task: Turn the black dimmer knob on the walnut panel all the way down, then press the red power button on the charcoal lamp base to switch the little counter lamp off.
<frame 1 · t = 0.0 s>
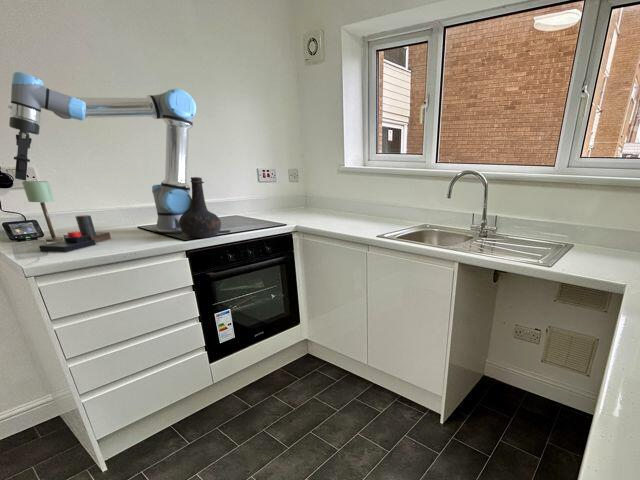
hand: (20, 178, 131), 27 cm above the countertop, tool tilted 15°, fingers open, 13 cm apart
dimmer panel: (88, 240, 156), on the countertop
power button: (74, 234, 145), point 5 cm above the countertop, slide at 0.1 cm
lamp: (54, 240, 137), resting on lamp base
glass bottle: (202, 237, 172), on the countertop, touching arm
lamp base: (69, 247, 143), on the countertop
dimmer knob: (85, 225, 152), point 7 cm above the countertop, hinge at 120.0°
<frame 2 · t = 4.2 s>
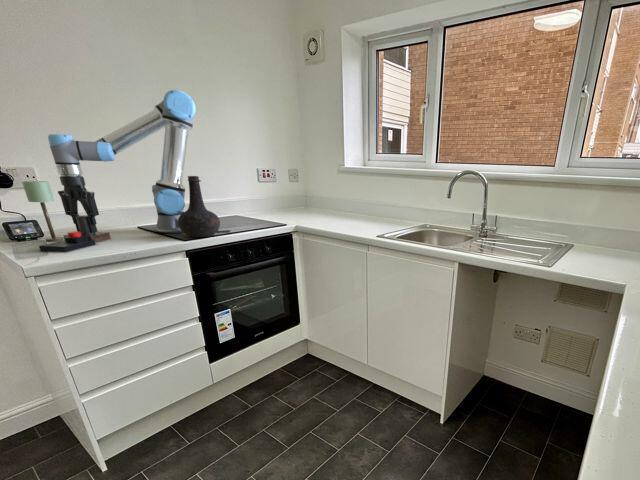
hand: (87, 231, 153), 4 cm above the countertop, tool pointing down, fingers closed on dimmer knob, 5 cm apart
dimmer knob: (85, 225, 152), point 7 cm above the countertop, hinge at 120.0°, touching gripper
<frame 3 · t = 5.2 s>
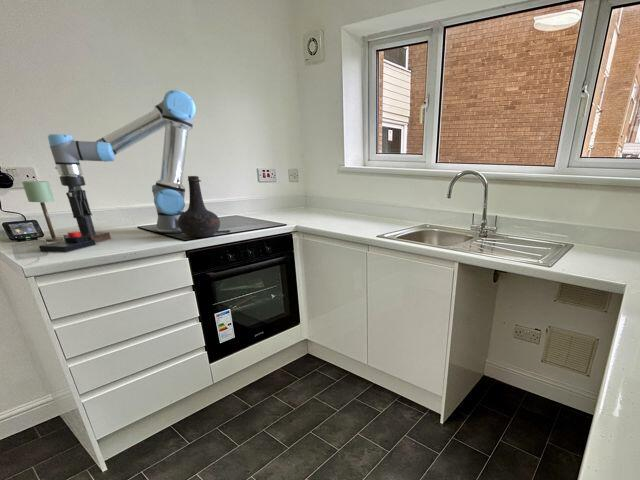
hand: (87, 231, 153), 4 cm above the countertop, tool pointing down, fingers closed on dimmer knob, 5 cm apart
dimmer knob: (85, 225, 152), point 7 cm above the countertop, hinge at 55.9°, touching gripper
everything else where it was.
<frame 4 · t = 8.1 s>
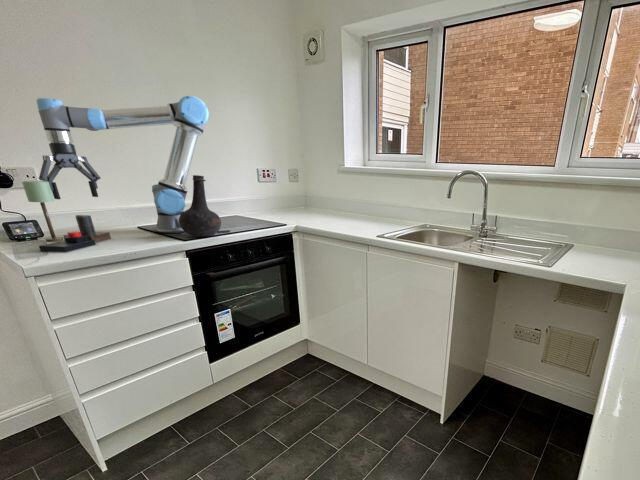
hand: (77, 198, 147), 19 cm above the countertop, tool pointing down, fingers open, 13 cm apart
dimmer knob: (85, 225, 152), point 7 cm above the countertop, hinge at 10.4°
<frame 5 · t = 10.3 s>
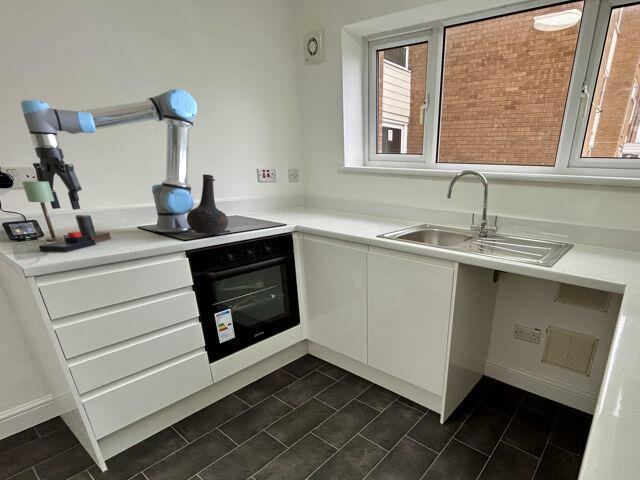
hand: (66, 208, 141), 15 cm above the countertop, tool pointing down, fingers open, 7 cm apart
glass bottle: (208, 234, 173), point 1 cm above the countertop, touching arm
everything else where it was.
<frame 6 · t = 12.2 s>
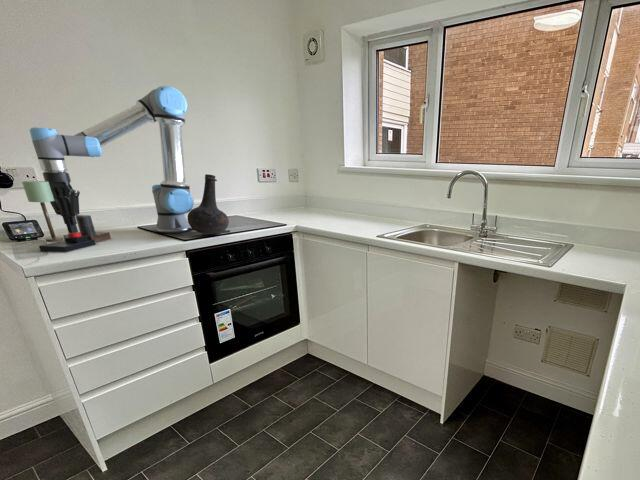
hand: (73, 232, 144), 6 cm above the countertop, tool pointing down, fingers closed
power button: (74, 235, 145), point 4 cm above the countertop, slide at -0.2 cm, touching gripper
everything else where it was.
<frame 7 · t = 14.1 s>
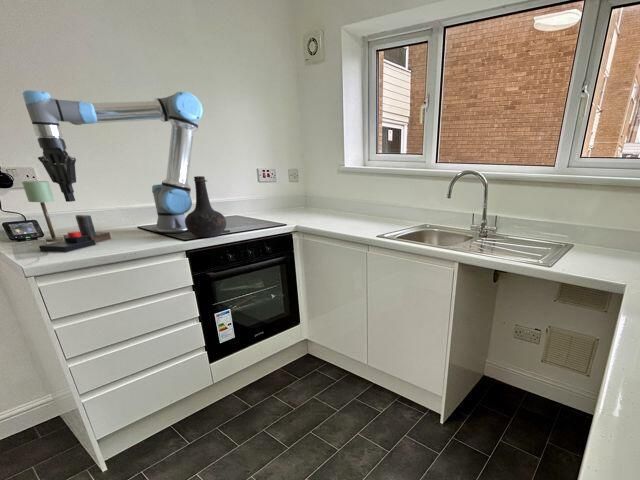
hand: (70, 201, 142), 18 cm above the countertop, tool pointing down, fingers closed
power button: (74, 234, 145), point 5 cm above the countertop, slide at 0.1 cm
glass bottle: (208, 236, 174), on the countertop, touching arm
everything else where it was.
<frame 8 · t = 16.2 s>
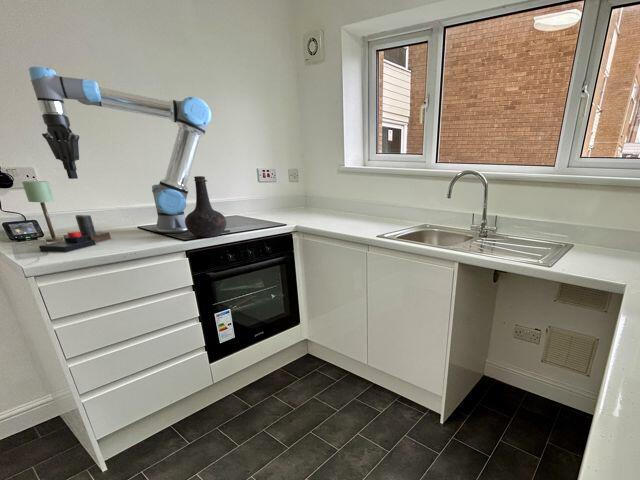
hand: (73, 178, 144), 26 cm above the countertop, tool pointing down, fingers closed
nothing on the countertop moved.
at the end: dimmer knob at +10° (first picture: +120°); power button pushed in 1.0 cm at the most during the clip, back to where it started at the end; power button slide at 0.1 cm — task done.
